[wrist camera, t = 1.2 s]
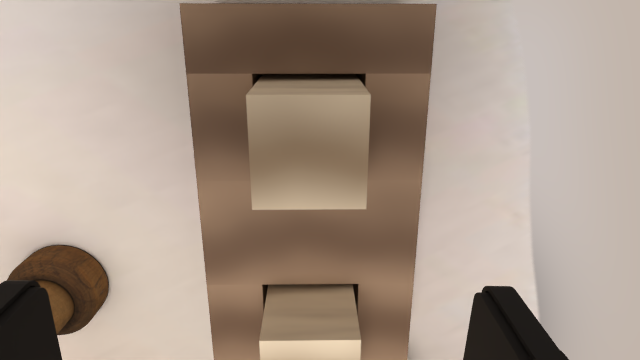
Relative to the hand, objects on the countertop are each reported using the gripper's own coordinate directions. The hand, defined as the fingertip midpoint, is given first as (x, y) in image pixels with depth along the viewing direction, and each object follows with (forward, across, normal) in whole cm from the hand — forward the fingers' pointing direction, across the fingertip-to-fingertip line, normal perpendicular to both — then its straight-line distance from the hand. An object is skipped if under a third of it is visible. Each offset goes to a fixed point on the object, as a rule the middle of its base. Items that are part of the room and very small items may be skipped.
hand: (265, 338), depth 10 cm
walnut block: (+22, -1, +5) cm, 23 cm away
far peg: (+18, -1, +11) cm, 21 cm away
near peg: (+18, -1, -1) cm, 18 cm away
